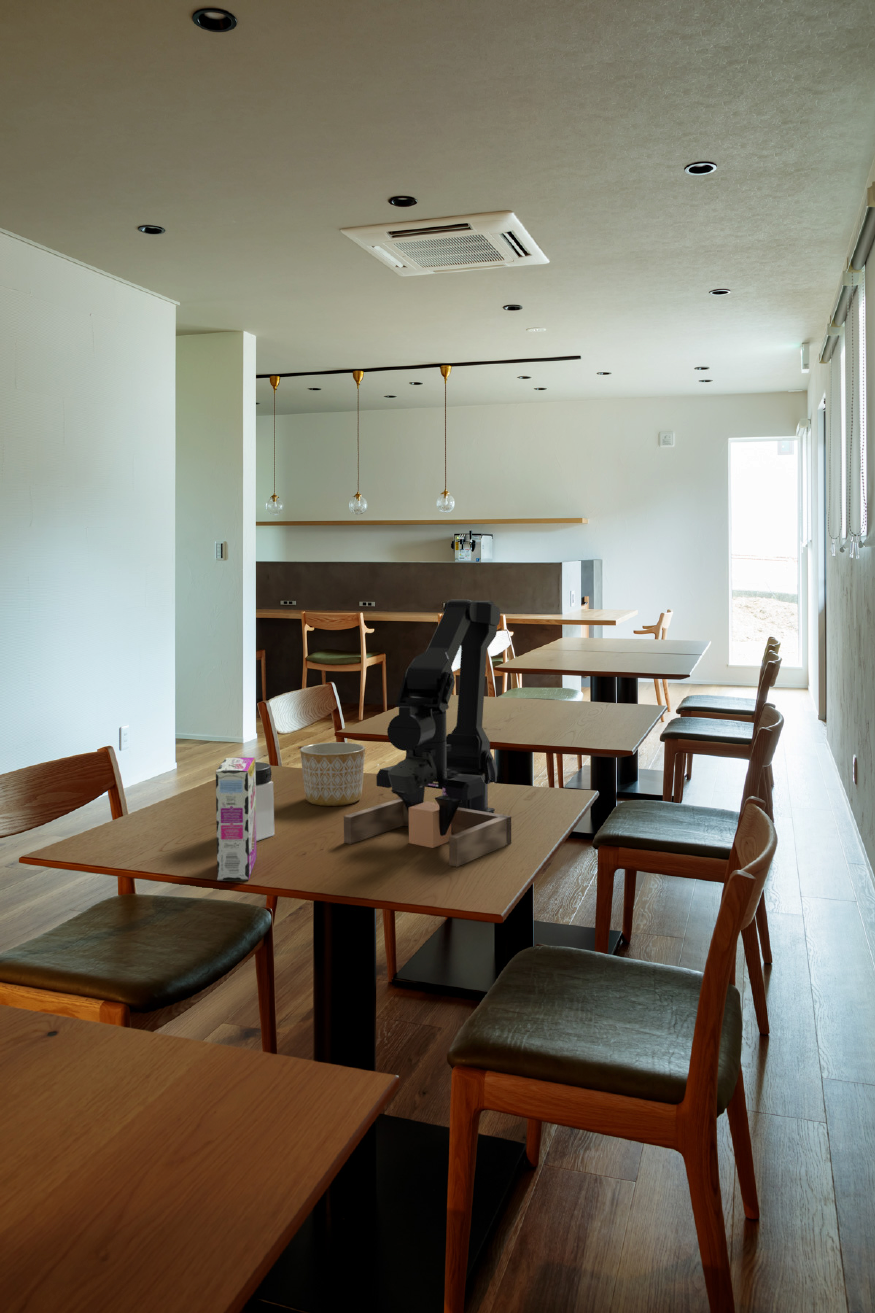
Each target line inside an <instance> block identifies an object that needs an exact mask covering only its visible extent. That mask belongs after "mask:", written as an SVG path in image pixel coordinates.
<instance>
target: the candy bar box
mask: <svg viewBox="0 0 875 1313" xmlns="http://www.w3.org/2000/svg"><path fill="white" fill-rule="evenodd" d="M255 762H256V757H244V756H243V757H225V758H224V760H223V761H222V762H221V764H220V765H219V766H218V768H217V769H216V770H215V806H216V808H215V810H216V811H215V814H216V819H215V820H216V865H217V866H216V872H217V875H216V880H217V881H219V882H220V881H221V882H226V881H227V882H229V881H230V882H231V881H248V880H250V877H251V875H252V872H253V869H254V866H255V864H256V860H257V856H258V855H257V841H256V772H255Z"/></svg>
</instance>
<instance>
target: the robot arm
mask: <svg viewBox="0 0 875 1313" xmlns="http://www.w3.org/2000/svg"><path fill="white" fill-rule="evenodd" d="M500 621H501V609H500V607H499V606H497V605H495V603H494V601H493V600H471V599H449V600H446V601H445V603H444V605H443V614H442V617H441V618H440V621H439V623H438V625H437V627H436V629H435V631H434V633H433V635H432V638H431V640H430V642H429V644H428V646H427V649H426V650H425V651H424V652H422V653H420V654H419V655H417V656H415V657H414V658H413V660H412V662H411V663H410V664H409V666H408V668H407V669H406V671H405V672H404V674H403V678H402V681H401V685H400V689H399V693H398V696H397V700H396V703H395V705H396V706H395V707H396V708H398V715H396V716H394V717H393V718H392V719H391V720H390V722H389V724H388V727H387V730H386V731H387V738H388V741H389V742H390V743H391V745H392V746H393V747H394V748H395V749H397V750H399V751H402V752H403V751H404V752H405V758H404V759H403V760H400V761H399V762H397V764H394V765H390V766H387V767H383V768H379V771H378V772H377V774H376V775H375V776H376V779H375V780H376V782H375V783H376V787H380V788H385V789H386V788H387V789H389V788H391V791H390V792H391V793H392V794H395V795H396V796H397V797H399V798H401V799H402V800H403V802H404V804H405V806H406V809H407V811H408V814H409V807H412V806H415V805H418V804H421V803H423V802H425V801H424V800H425V791H426V790H425V789H426V788H431V789H437V790H442V795H439V796H436V797H434V800H435V801H436V803H438V805H439V828H440V835H441V836H444V835H446V833H447V831H448V828H449V826H450V824H451V821H452V819H453V817H454V815H455V812H456V810H457V809H458V807H459V808H465V809H471V810H477V811H483V812H489V813H494V812H496V811H495V808H492V807H488V805H489V804H488V803H489V802H488V798H489V797H488V795H489V794H488V792H489V791H488V789H489V788H488V785H490V784H493V783H497V779H498V778H497V777H498V766H497V764H496V762H495V758H494V756H493V755H492V752H491V742H490V740H489V738H488V735H487V734H486V732H485V730H484V728H483V721H484V720H483V719H484V717H483V716H484V701H485V685H486V683H485V682H486V669H487V668H486V667H487V654H488V653H487V650H488V648H489V647H490V645H491V644H492V642H493V641H494V639H495V638H496V636H497V631H498V626H499V624H500ZM460 648H461V650H460ZM459 650H460V664H459V665H460V666H459V667H460V668H459V677H458V678H459V680H458V695H457V712H456V725H455V727H454V728H453V730H452V731H451V733H447V710H448V709H449V708H450V706H449V702H450V699H451V696H452V693H453V690H454V687H455V684H456V682H455V681H456V680H455V675H454V672H453V668H452V667H453V664H454V661H455V659H456V658H457V654H458V652H459Z"/></svg>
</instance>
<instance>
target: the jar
mask: <svg viewBox="0 0 875 1313" xmlns="http://www.w3.org/2000/svg"><path fill="white" fill-rule="evenodd" d="M255 772H256V842H260V841H261V840H264V839H267V838H271V837H273V836H275V806H274V805H275V803H274V802H275V800H274V782H273V781H272V775H273V774H272V765H271V764H269V763H266V762H260V761H255Z"/></svg>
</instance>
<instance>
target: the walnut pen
mask: <svg viewBox="0 0 875 1313" xmlns="http://www.w3.org/2000/svg"><path fill="white" fill-rule="evenodd" d="M424 802H425V801H424ZM424 802H423V803H424ZM404 826H405V827H409V814H408V811H407V809H406V806H405V804H404V802H403V800H402V799H401V798H400V797H399V798H397V799H394V800H390V801H387V802H384V803H381V804H377V805H374V806H371V807H369V808H365V809H361V810H358V811H355V812H352V813H349V814H345V815H343V844H345V843H346V844H349V845H352V844H355V843H359V842H360V841H364V840H366V839H370V838H373V837H374V836H378V835H380V834H384V833H385V832H388V831H392V830H394V829H398V828H400V827H404ZM510 844H512V816H511V815H506V814H505V815H504V814H500V813H494V812H491V813H489V812H483V811H477V810H471V809H465V808H459V807H458V809H457V810H456V812H455V815H454V817H453V819H452V821H451V836H449V842H448V845H449V846H448V850H449V851H448V858H449V861H448V863H449V864H448V866H452V867H456V868H458V867H460V866H462V865H464V864H467V863H469V862H471V861H474V860H476V859H478V858H481V857H483V856H484V855H488V854H490V853H492V852H495V851H496V850H499V849H501V848H504V847H506V846H509V845H510Z"/></svg>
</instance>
